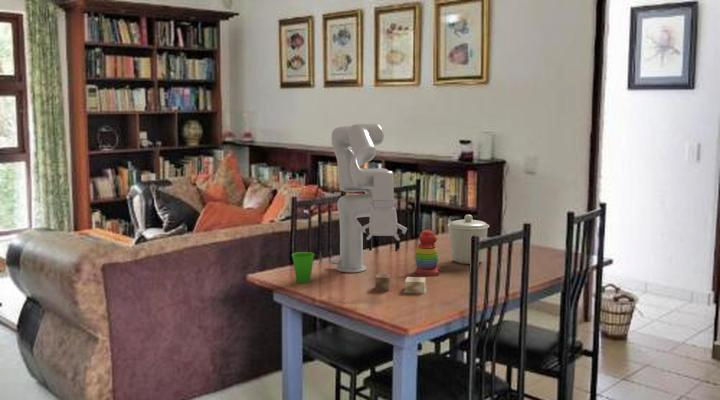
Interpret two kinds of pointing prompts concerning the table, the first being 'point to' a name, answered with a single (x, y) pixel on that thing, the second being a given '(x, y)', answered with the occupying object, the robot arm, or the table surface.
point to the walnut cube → (383, 282)
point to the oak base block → (415, 284)
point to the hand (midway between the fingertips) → (383, 250)
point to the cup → (303, 266)
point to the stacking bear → (427, 254)
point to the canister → (465, 238)
